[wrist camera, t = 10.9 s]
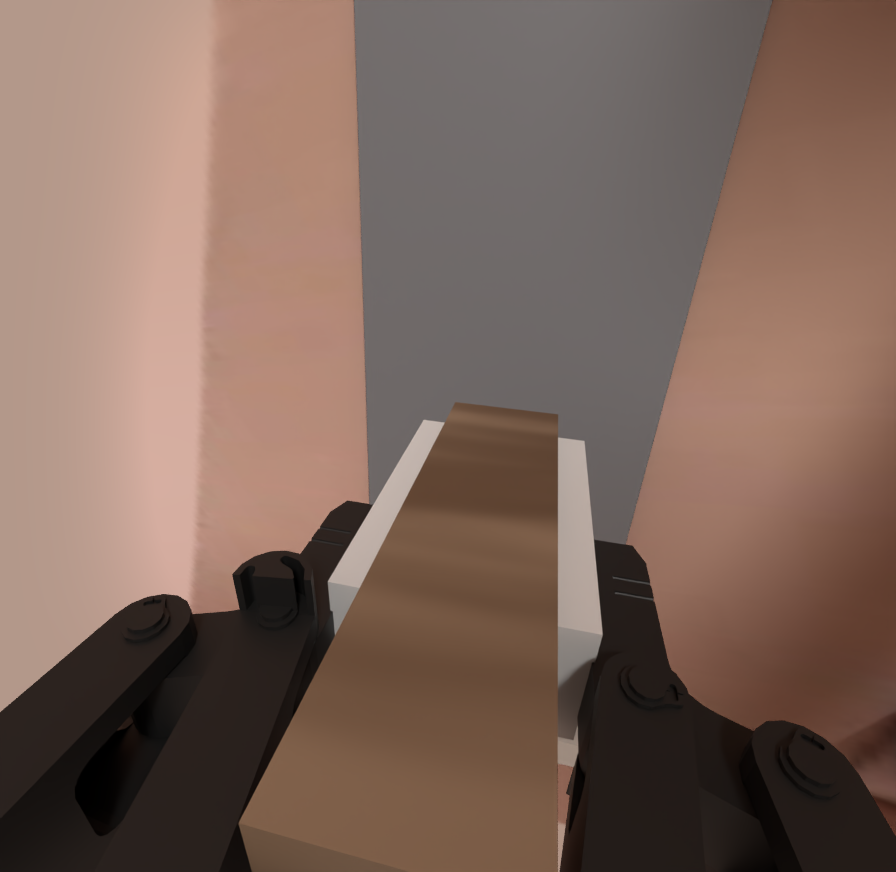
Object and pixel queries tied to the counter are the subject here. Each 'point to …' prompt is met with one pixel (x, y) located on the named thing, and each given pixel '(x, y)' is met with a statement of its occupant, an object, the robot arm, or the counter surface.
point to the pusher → (436, 679)
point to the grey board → (540, 214)
